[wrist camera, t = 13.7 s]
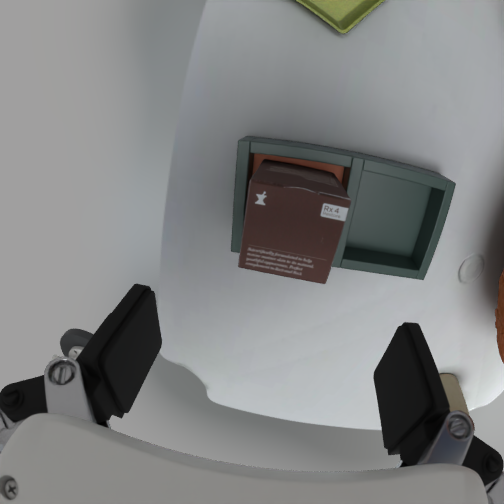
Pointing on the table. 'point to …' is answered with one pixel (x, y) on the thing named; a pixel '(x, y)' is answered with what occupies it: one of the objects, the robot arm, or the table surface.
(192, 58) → the table surface
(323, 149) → the tray
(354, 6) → the saucer
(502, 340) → the bowl
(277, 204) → the box
